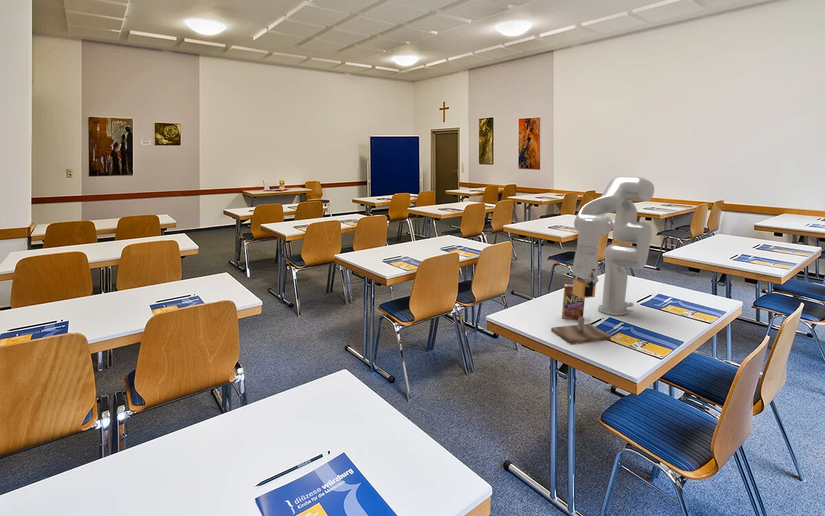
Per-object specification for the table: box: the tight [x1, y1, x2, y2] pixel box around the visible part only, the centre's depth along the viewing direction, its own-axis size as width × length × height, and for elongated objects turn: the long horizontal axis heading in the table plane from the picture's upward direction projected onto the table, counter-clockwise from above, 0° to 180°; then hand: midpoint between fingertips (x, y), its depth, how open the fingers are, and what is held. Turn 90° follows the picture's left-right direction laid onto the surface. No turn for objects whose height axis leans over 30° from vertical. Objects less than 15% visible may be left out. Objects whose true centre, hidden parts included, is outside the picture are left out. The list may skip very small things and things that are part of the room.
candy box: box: [561, 283, 586, 321], centre depth 203 cm, size 9×4×15 cm, turn 73°
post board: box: [550, 316, 612, 345], centre depth 185 cm, size 18×14×8 cm
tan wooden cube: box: [572, 278, 597, 299], centre depth 181 cm, size 6×6×6 cm
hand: (583, 293), depth 182 cm, fingers closed on tan wooden cube, 5 cm apart
